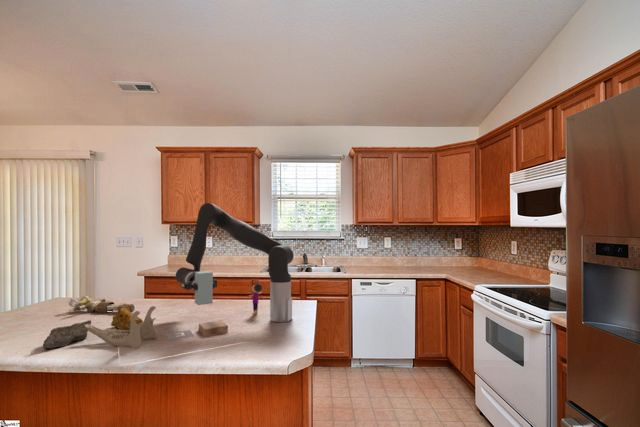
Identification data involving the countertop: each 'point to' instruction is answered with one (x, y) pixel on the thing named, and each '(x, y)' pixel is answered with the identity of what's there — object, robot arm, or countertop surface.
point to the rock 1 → (66, 335)
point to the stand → (213, 328)
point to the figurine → (98, 305)
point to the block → (204, 287)
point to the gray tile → (179, 335)
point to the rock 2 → (124, 319)
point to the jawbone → (128, 332)
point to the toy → (256, 297)
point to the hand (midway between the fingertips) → (205, 286)
